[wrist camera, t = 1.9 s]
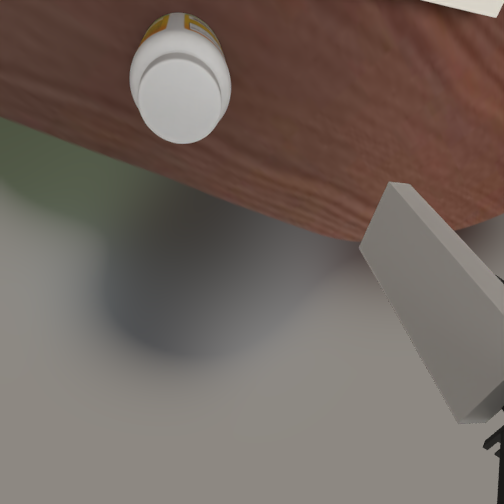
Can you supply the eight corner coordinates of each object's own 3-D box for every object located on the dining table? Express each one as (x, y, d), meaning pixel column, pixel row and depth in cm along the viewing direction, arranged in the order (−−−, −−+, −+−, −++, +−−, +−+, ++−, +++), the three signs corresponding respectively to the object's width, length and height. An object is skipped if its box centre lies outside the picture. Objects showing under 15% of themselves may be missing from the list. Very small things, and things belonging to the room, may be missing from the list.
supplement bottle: (148, 100, 26) (133, 160, 19) (134, 11, 23) (108, 41, 15) (224, 98, 27) (237, 155, 19) (220, 11, 24) (235, 39, 16)
